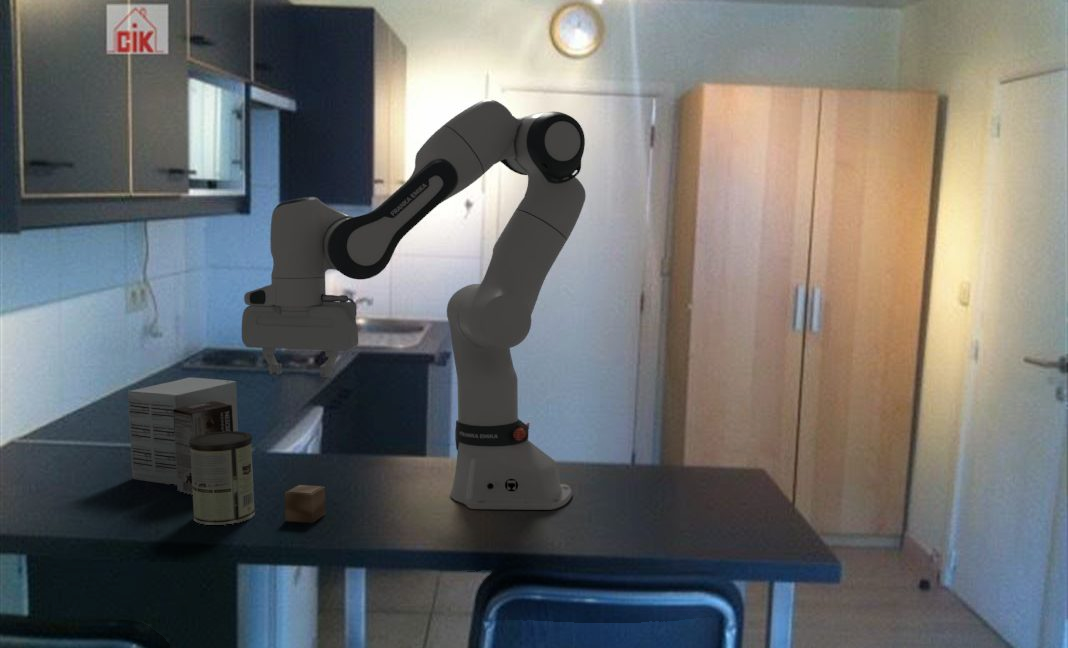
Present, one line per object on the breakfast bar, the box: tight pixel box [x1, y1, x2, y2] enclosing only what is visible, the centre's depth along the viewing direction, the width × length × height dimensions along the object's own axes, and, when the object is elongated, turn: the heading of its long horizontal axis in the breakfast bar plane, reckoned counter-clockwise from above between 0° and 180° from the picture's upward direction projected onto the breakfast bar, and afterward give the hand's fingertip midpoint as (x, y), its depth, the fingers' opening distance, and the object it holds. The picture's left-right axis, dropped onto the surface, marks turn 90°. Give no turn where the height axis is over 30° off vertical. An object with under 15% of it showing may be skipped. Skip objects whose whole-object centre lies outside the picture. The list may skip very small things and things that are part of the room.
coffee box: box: [173, 401, 233, 496], centre depth 184 cm, size 9×6×16 cm
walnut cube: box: [284, 484, 327, 524], centre depth 167 cm, size 5×5×5 cm
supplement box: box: [127, 377, 239, 486], centre depth 196 cm, size 17×13×18 cm
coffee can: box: [189, 430, 256, 526], centre depth 167 cm, size 10×10×14 cm
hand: (300, 375), depth 164 cm, fingers open, 8 cm apart
